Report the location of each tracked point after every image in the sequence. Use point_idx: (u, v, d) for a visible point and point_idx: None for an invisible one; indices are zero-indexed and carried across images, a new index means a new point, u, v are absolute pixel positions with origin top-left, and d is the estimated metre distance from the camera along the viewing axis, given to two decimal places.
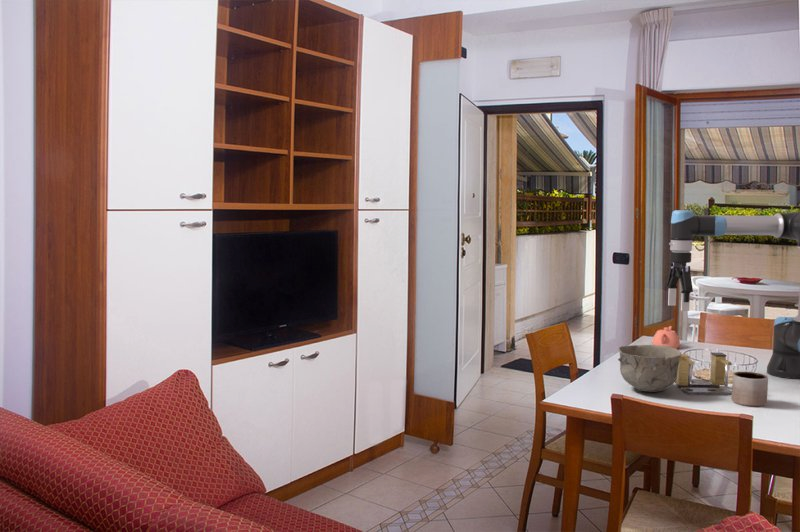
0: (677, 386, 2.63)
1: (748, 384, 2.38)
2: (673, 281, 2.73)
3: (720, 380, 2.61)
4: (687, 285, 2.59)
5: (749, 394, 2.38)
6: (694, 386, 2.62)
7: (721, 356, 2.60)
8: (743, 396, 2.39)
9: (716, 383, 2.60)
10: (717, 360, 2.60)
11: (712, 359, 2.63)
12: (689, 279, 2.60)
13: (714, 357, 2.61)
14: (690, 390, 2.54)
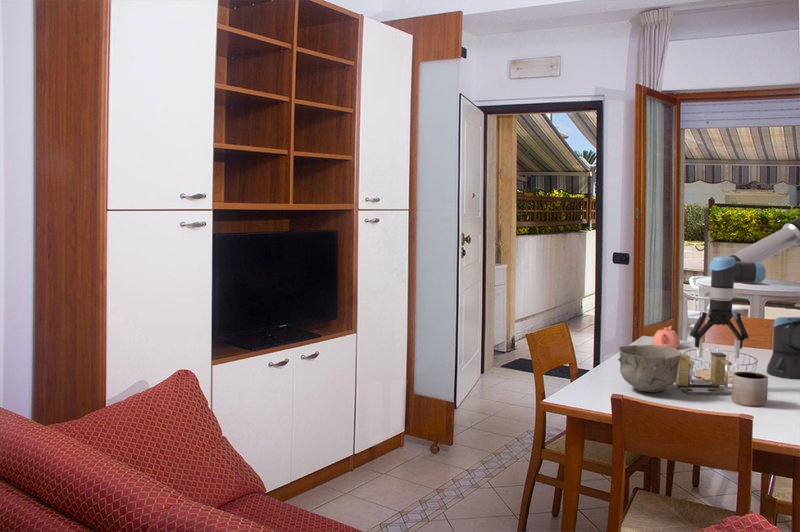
0: (677, 386, 2.63)
1: (748, 384, 2.38)
2: (732, 330, 2.61)
3: (720, 380, 2.61)
4: (693, 329, 2.62)
5: (749, 394, 2.38)
6: (694, 386, 2.62)
7: (721, 356, 2.60)
8: (743, 396, 2.39)
9: (716, 383, 2.60)
10: (717, 360, 2.60)
11: (712, 359, 2.63)
12: (697, 324, 2.60)
13: (714, 357, 2.61)
14: (690, 390, 2.54)
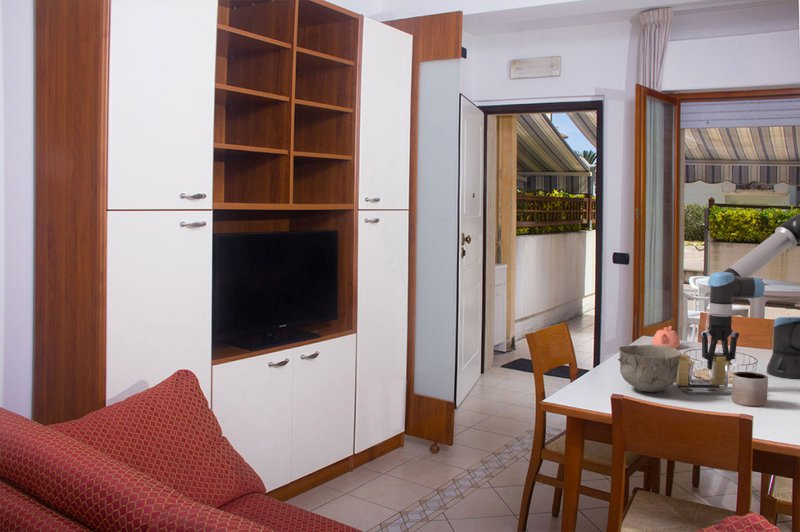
0: (677, 386, 2.63)
1: (748, 384, 2.38)
2: (723, 348, 2.62)
3: (720, 380, 2.61)
4: (702, 352, 2.62)
5: (749, 394, 2.38)
6: (694, 386, 2.62)
7: (721, 356, 2.60)
8: (743, 396, 2.39)
9: (716, 383, 2.60)
10: (717, 360, 2.60)
11: None
12: (704, 346, 2.61)
13: (714, 357, 2.61)
14: (690, 390, 2.54)
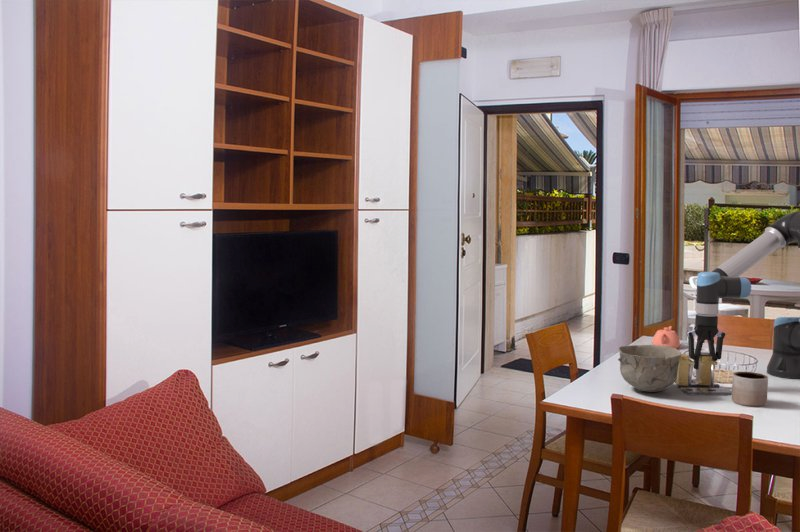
0: (677, 386, 2.63)
1: (748, 384, 2.38)
2: (709, 348, 2.62)
3: (706, 380, 2.61)
4: (689, 352, 2.62)
5: (749, 394, 2.38)
6: (694, 386, 2.62)
7: (707, 356, 2.60)
8: (742, 396, 2.39)
9: (702, 383, 2.60)
10: (703, 360, 2.60)
11: None
12: (690, 346, 2.61)
13: (700, 357, 2.61)
14: (690, 390, 2.54)
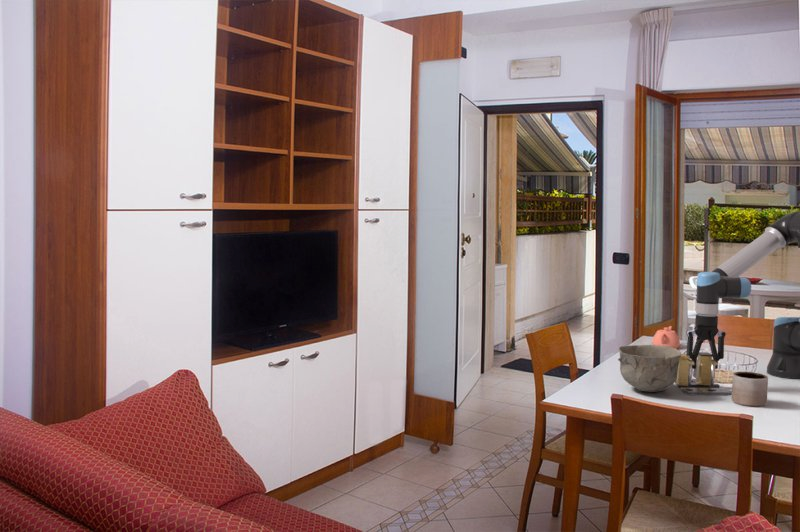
0: (677, 386, 2.63)
1: (748, 384, 2.38)
2: (711, 348, 2.62)
3: (706, 380, 2.61)
4: (687, 351, 2.62)
5: (749, 394, 2.38)
6: (694, 386, 2.62)
7: (707, 356, 2.60)
8: (742, 396, 2.39)
9: (702, 383, 2.60)
10: (703, 360, 2.60)
11: (698, 359, 2.63)
12: (688, 345, 2.61)
13: (700, 357, 2.61)
14: (690, 390, 2.54)
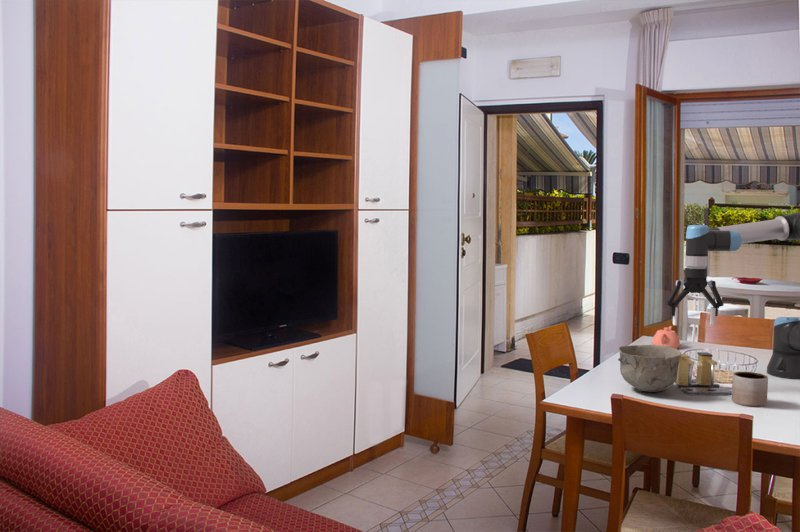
0: (677, 386, 2.63)
1: (748, 384, 2.38)
2: (707, 298, 2.63)
3: (706, 380, 2.61)
4: (668, 298, 2.63)
5: (749, 394, 2.38)
6: (694, 386, 2.62)
7: (707, 356, 2.60)
8: (743, 396, 2.39)
9: (702, 383, 2.60)
10: (703, 360, 2.60)
11: (698, 359, 2.63)
12: (672, 293, 2.62)
13: (700, 357, 2.61)
14: (690, 390, 2.54)
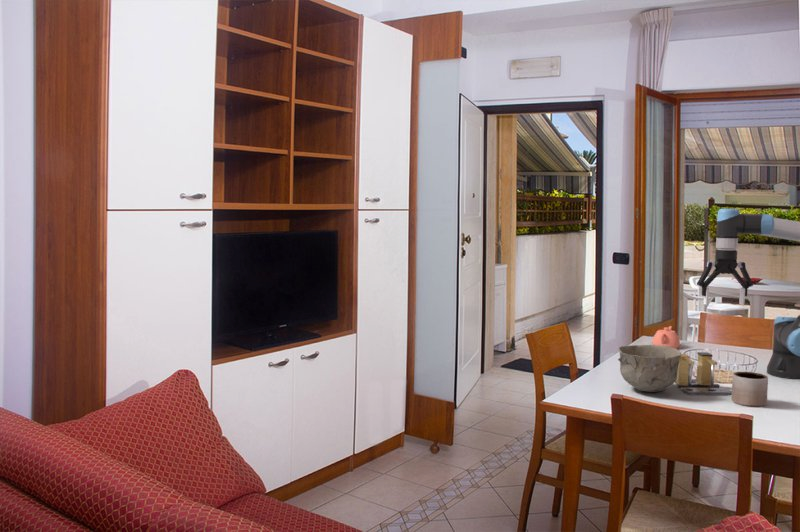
0: (677, 386, 2.63)
1: (748, 384, 2.38)
2: (737, 279, 2.74)
3: (706, 380, 2.61)
4: (699, 279, 2.74)
5: (749, 394, 2.38)
6: (694, 386, 2.62)
7: (707, 356, 2.60)
8: (742, 396, 2.39)
9: (702, 383, 2.60)
10: (703, 360, 2.60)
11: (698, 359, 2.63)
12: (704, 274, 2.73)
13: (700, 357, 2.61)
14: (690, 390, 2.54)
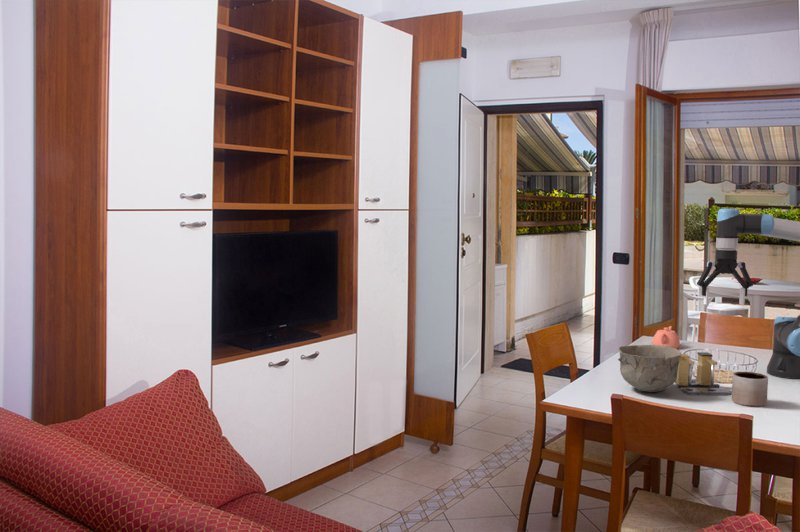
0: (677, 386, 2.63)
1: (748, 384, 2.38)
2: (737, 279, 2.74)
3: (706, 380, 2.61)
4: (699, 279, 2.74)
5: (749, 394, 2.38)
6: (694, 386, 2.62)
7: (707, 356, 2.60)
8: (742, 396, 2.39)
9: (702, 383, 2.60)
10: (703, 360, 2.60)
11: (698, 359, 2.63)
12: (704, 274, 2.73)
13: (700, 357, 2.61)
14: (690, 390, 2.54)
